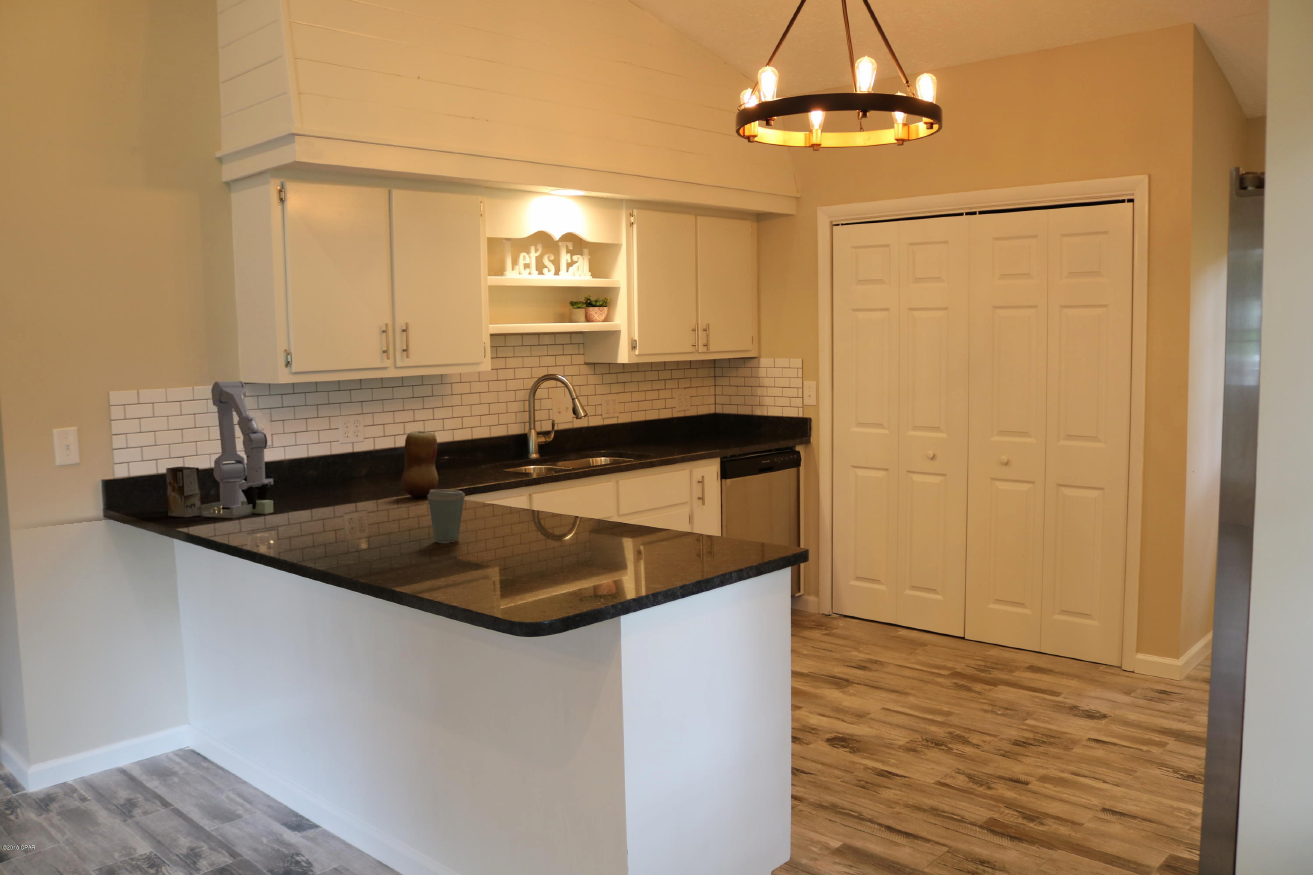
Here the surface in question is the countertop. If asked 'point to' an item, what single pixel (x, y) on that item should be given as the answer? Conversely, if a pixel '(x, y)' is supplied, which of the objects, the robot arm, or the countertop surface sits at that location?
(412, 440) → the butternut squash
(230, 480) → the robot arm
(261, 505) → the board
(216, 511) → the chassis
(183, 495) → the coffee box
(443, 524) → the disposable coffee cup
